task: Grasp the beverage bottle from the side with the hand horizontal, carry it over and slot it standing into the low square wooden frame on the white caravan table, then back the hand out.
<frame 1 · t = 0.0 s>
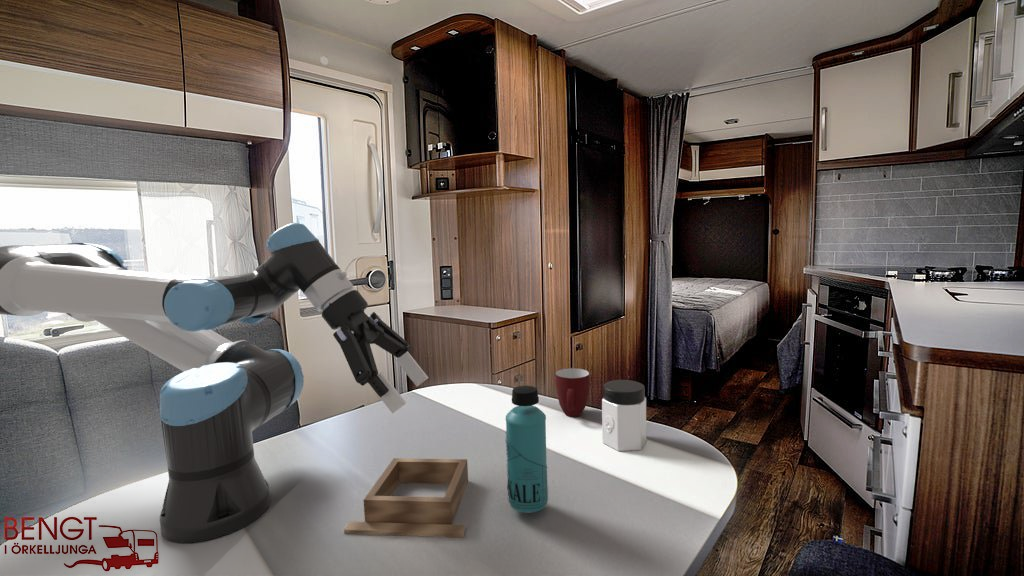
hand: (412, 394, 86), 15 cm above the table, tool tilted 35°, fingers open, 13 cm apart
jar: (624, 443, 98), on the table
beverage bottle: (528, 512, 76), on the table
square wooden frame: (420, 501, 79), on the table
mug: (573, 416, 113), on the table
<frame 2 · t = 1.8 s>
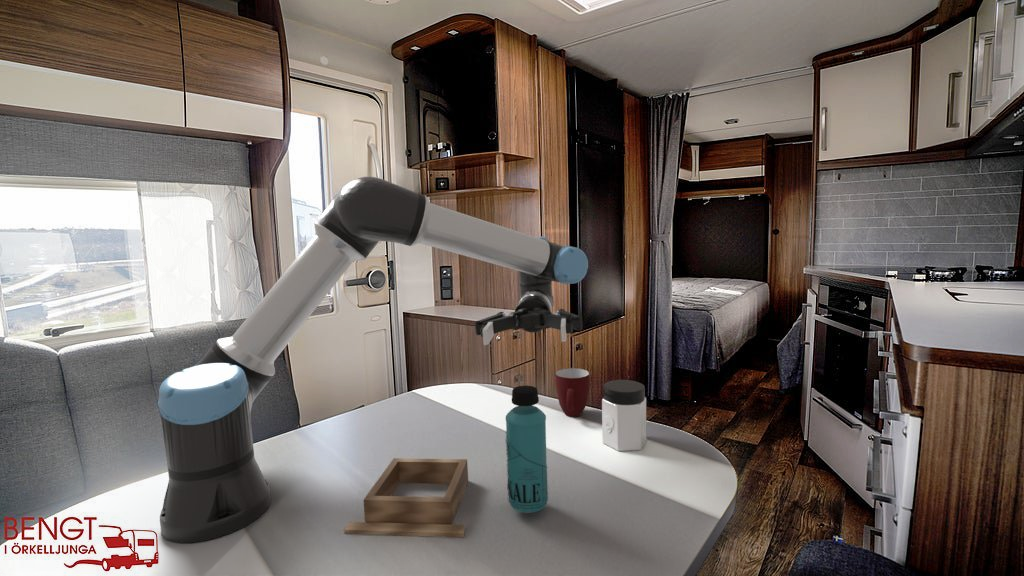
hand: (523, 335, 83), 26 cm above the table, tool horizontal, fingers open, 13 cm apart
nothing on the table moved.
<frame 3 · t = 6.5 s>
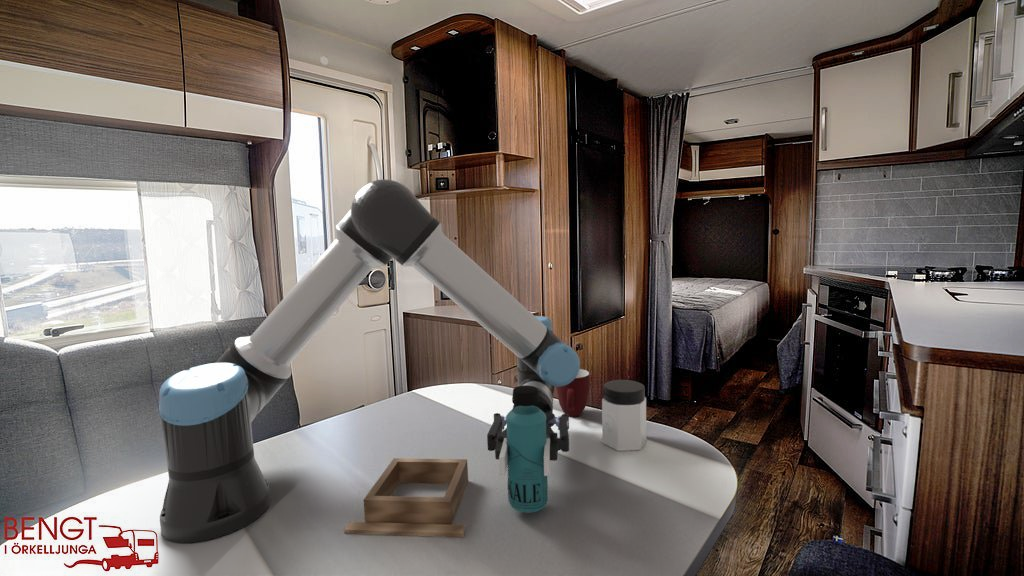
hand: (524, 466, 69), 10 cm above the table, tool horizontal, fingers closed on beverage bottle, 6 cm apart
beverage bottle: (528, 511, 76), on the table, touching gripper
everything else where it was.
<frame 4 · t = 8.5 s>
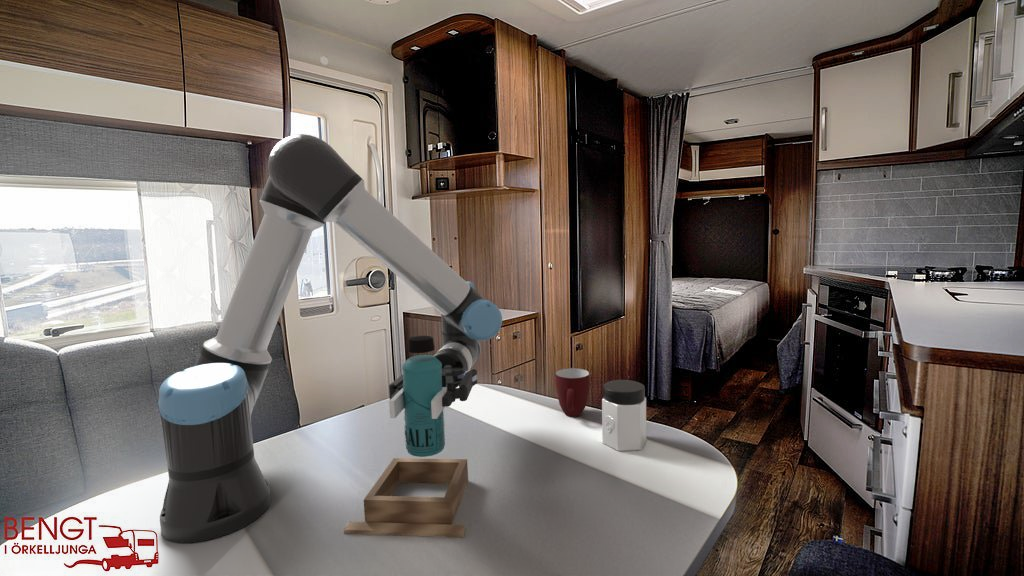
hand: (413, 409, 72), 18 cm above the table, tool horizontal, fingers closed on beverage bottle, 6 cm apart
beverage bottle: (426, 458, 78), point 7 cm above the table, touching gripper
everything else where it was.
when the fingers open (11 cm above the table, at t = 10.6 s): beverage bottle stays where it is, resting in square wooden frame.
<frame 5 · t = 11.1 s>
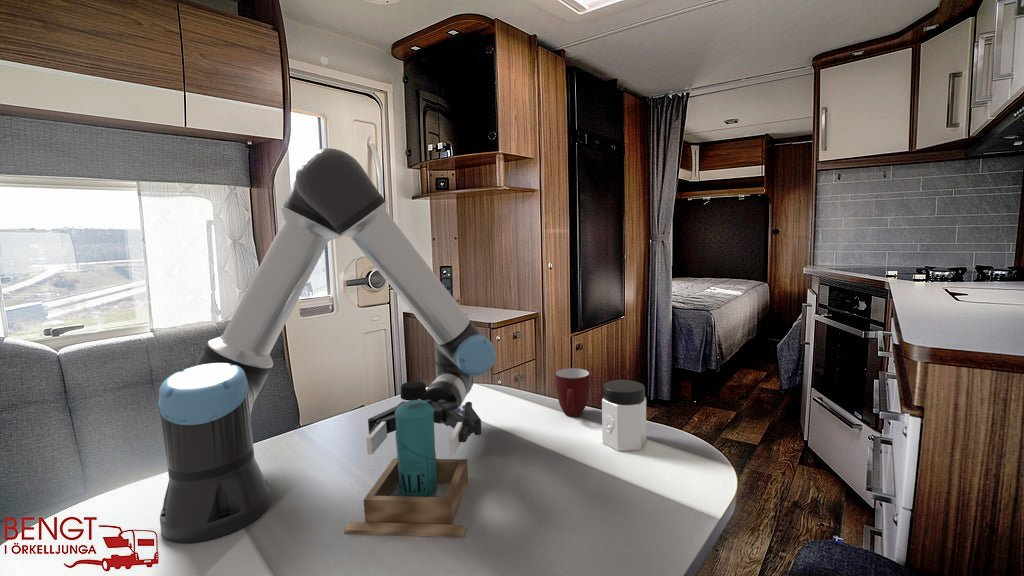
hand: (410, 447, 75), 11 cm above the table, tool horizontal, fingers open, 12 cm apart
beverage bottle: (418, 501, 80), resting in square wooden frame
everything else where it was.
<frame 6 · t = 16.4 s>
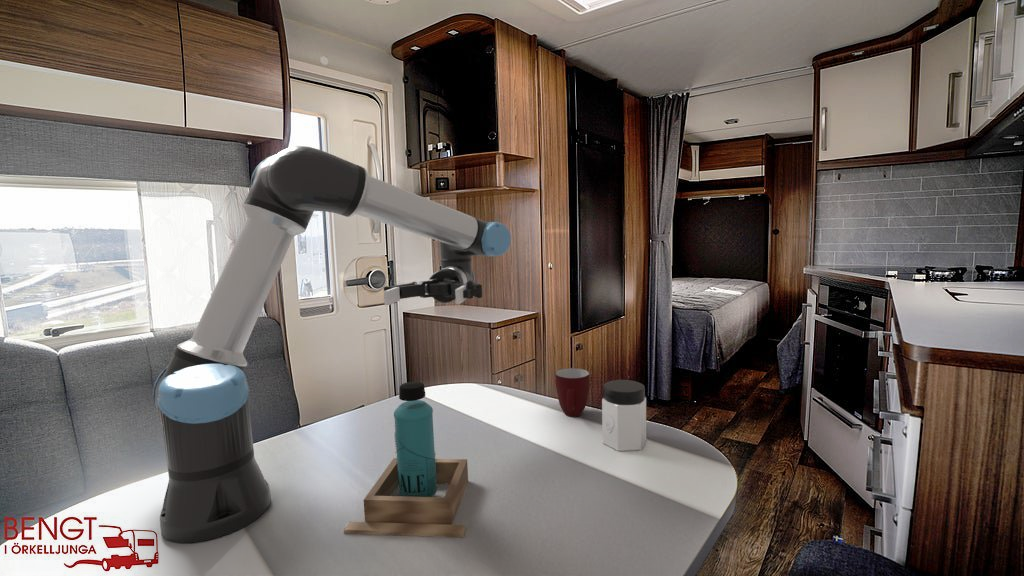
hand: (421, 297, 89), 32 cm above the table, tool horizontal, fingers open, 13 cm apart
nothing on the table moved.
at the end: beverage bottle inside the target area on the square wooden frame (0.3 cm from its centre), point 0.0 cm above the square wooden frame's base; beverage bottle tilted 0°; the gripper is holding nothing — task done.
